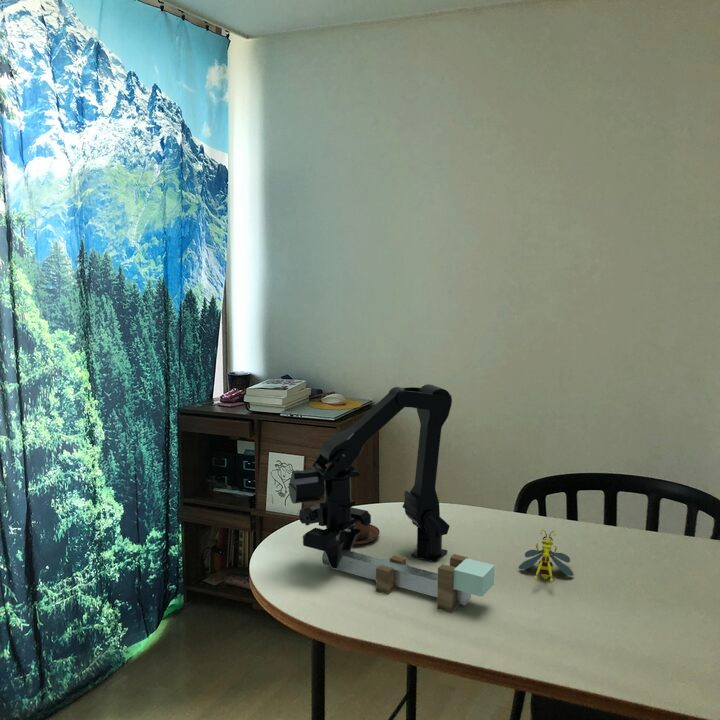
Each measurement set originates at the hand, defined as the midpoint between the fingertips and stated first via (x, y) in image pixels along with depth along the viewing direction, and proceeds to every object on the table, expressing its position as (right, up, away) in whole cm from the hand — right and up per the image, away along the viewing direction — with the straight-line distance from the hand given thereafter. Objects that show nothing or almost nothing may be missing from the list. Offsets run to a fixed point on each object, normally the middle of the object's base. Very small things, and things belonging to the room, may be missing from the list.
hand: (338, 565), depth 156 cm
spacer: (+27, +1, -17) cm, 32 cm away
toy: (+45, -2, -3) cm, 45 cm away
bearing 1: (+11, -2, -7) cm, 13 cm away
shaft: (+12, -2, -7) cm, 14 cm away
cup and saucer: (+3, +1, +18) cm, 18 cm away
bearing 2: (+23, -3, -14) cm, 27 cm away
